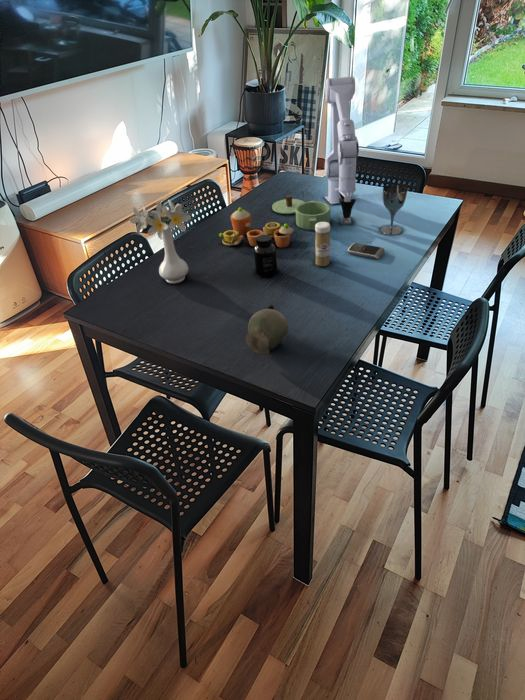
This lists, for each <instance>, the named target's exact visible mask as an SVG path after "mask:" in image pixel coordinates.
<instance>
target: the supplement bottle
mask: <svg viewBox="0 0 525 700" xmlns="http://www.w3.org/2000/svg"><path fill="white" fill-rule="evenodd" d="M253 255H254V256H253V258H254V267H255V273H256V275H257V276H259V277H261V278H271V277H273V276H275V275H277V273H278V262H277V261H278V260H277V248H276V246H275V244H274V243H273V237H271V236H270V235H260V236H258V237H257V238H256V246H254V247H253Z"/></svg>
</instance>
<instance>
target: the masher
mask: <svg viewBox="0 0 525 700" xmlns="http://www.w3.org/2000/svg"><path fill="white" fill-rule="evenodd" d="M340 225H352V218H351V216H350V218H344V217H343V216H340Z"/></svg>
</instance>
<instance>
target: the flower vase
mask: <svg viewBox="0 0 525 700" xmlns="http://www.w3.org/2000/svg"><path fill="white" fill-rule="evenodd" d="M167 202H168V204H167V205H165V206H163V204H162V203H161V202H158V203H157V204H156V206H155V210H154V209H153V210H150V211H148V209H146V207H145V206H142V210H141V211H139V210H138V209H137V208H136V207H135V206H133V207H132V211H133V214H134V215H135V216H131V217H130V218H129V222H130V223H131V224H136V232H137V233H138V234H139V233H142V232H143V230H145V229H147V227H148V225H149V226H151V227H149V229H148V230H147V235H148V236H150V237H151V236H154V235H155V234H157V237H158V238H159V240H162V242H163V248H164V257H163V260H162V262H161V263H160V264H159V267H158V273H159V276H160V277H161V278H162V279H163V280H165V281H166V283H168V284H179V283H182V282H183V281H184V280H185V279H186V276H187V275H188V273H189V265H188V263H187V262H186V261H185V260H184V259H183V258H181V257H180V256H179V254H178V253H177V250H176V248H175V243H174V239H173V230H174V229H175V228H176V227H177V228H178V229H179V230H180V231H181V232H184V233H185V232H186V231H187V227H186V225H185V222H188V221H190V220H191V218H192V216H191V215H190V214H188V213H186V212H184V211H183V205H182V204H181V203H177V204H176V205H175V204H174V203H173V201H171V200H170V199H167Z"/></svg>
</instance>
